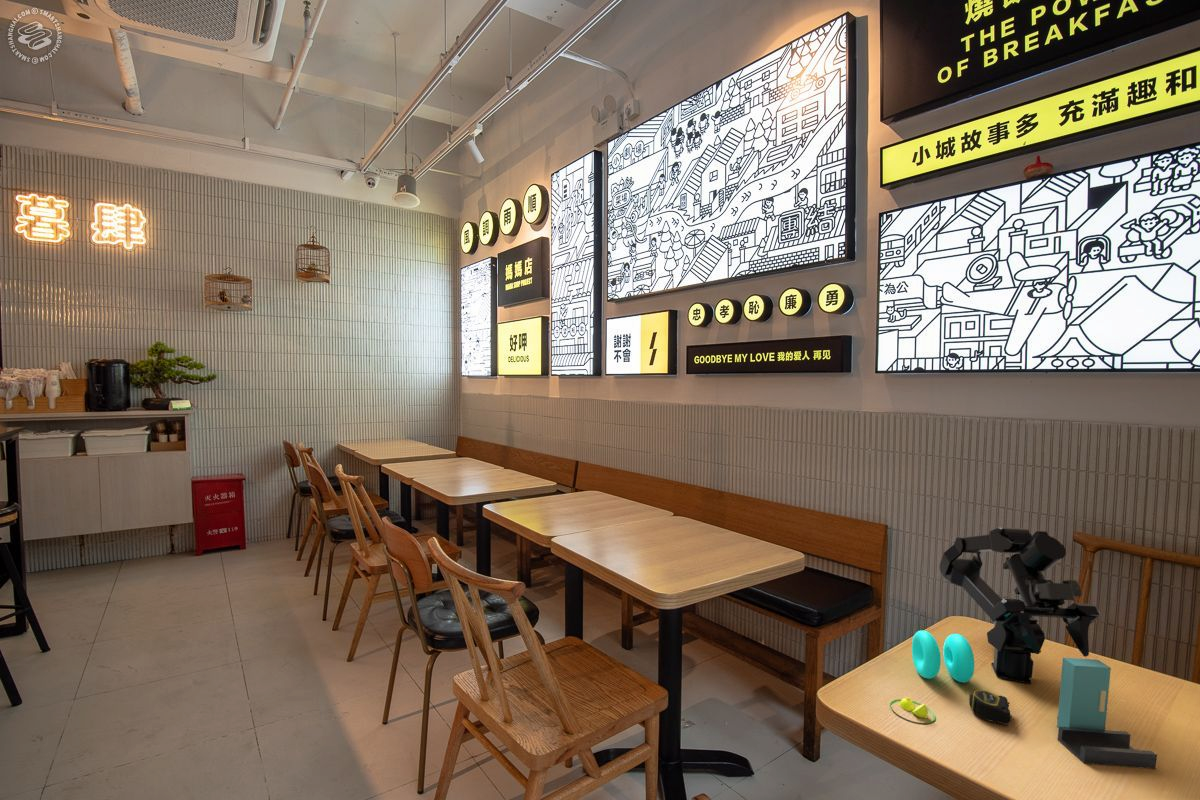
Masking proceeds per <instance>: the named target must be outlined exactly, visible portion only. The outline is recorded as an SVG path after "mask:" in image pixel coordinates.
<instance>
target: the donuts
mask: <svg viewBox="0 0 1200 800" xmlns="http://www.w3.org/2000/svg"><path fill="white" fill-rule="evenodd" d="M969 642H970V641H968V640H967V638H966V637H964V635H962V634H959V633H952V634H949V635H948V636H947V637H946V639H945V640H944V644H943V648H942V653H943V655H942V657H943V662H944V666H945V668H946V670H947V672H948V674H949V675H950V676H951V678H952V679H953V680H955V681H956V682H959V683H967V682H969V681H970V680H971V679H972V678H973V676H974V672H975V657H974V652H973V649H972V646H971V644H970V643H969ZM911 656H912V661H913V665H914V668H915V670H916V672H917V673H918V674H919V675H920V676H921V677H922V678H924V679H927V680H930V679H933V678H935V677H936V676H937V675H938V673H939V671H940V668H941V659H942V657H941V651H940V647H939V644H938V642H937V639H936V638H935V637H934V636H933V634H931V633H930V632H929V631H927V630H918V631H916V632H915V633H914V635H913V637H912V641H911Z"/></svg>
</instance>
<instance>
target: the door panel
mask: <svg viewBox="0 0 1200 800" xmlns="http://www.w3.org/2000/svg"><path fill="white" fill-rule="evenodd" d="M1111 670H1112V668H1111V667H1110V666H1108V664H1105V662H1102V660H1099V659H1090V658H1076V657H1075V658H1074V657H1062V665H1061V676H1060V687H1059V698H1058V699H1059V700H1058V710H1057V721H1056V722H1057V723H1056V728H1058V729H1059V727H1073V728H1087V729H1100V730H1106V726H1107V724H1106V723H1107V714H1108V713H1107V711H1108V704H1109V703H1108V701H1109V692H1110V691H1109V690H1110V682H1111V681H1110V679H1111Z"/></svg>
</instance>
